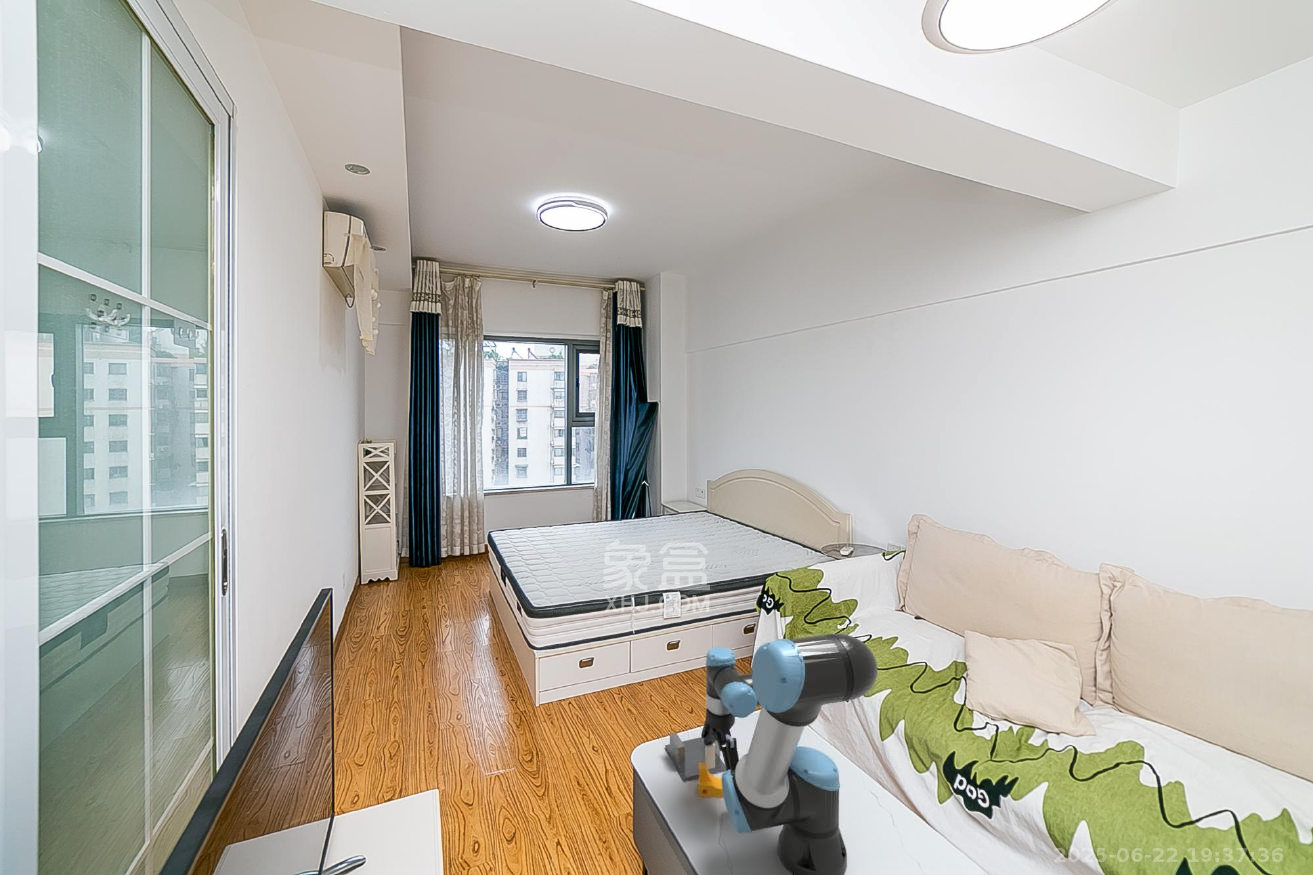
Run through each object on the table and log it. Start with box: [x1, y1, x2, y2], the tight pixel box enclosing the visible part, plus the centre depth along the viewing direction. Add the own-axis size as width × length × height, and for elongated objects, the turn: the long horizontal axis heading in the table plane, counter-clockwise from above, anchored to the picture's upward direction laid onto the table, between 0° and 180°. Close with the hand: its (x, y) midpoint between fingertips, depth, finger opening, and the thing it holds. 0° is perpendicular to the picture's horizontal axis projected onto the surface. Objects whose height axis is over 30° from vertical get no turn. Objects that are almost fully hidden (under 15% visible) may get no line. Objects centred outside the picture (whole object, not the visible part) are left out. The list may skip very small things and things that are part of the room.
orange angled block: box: [698, 763, 724, 798], centre depth 147 cm, size 12×4×6 cm, turn 86°
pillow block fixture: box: [664, 732, 727, 782], centre depth 160 cm, size 16×13×7 cm
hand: (720, 784), depth 146 cm, fingers open, 13 cm apart
